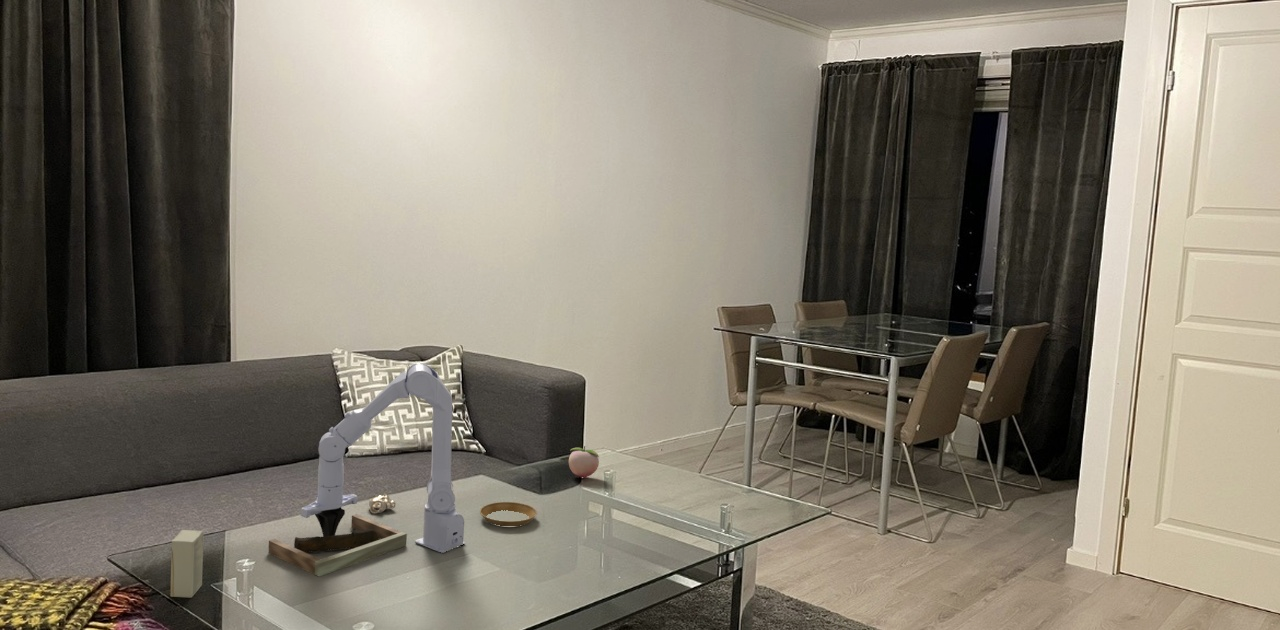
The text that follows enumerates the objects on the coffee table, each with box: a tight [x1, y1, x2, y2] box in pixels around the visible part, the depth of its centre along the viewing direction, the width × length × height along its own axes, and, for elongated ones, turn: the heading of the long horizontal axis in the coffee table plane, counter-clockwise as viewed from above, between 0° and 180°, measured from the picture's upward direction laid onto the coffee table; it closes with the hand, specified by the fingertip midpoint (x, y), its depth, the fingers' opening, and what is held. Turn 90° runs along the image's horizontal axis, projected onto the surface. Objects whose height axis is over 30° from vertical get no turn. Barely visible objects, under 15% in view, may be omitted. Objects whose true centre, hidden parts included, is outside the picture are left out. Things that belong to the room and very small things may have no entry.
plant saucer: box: [479, 501, 538, 527], centre depth 258 cm, size 15×15×3 cm
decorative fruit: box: [568, 445, 600, 478], centre depth 296 cm, size 9×8×10 cm
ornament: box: [368, 493, 397, 515], centre depth 258 cm, size 8×7×4 cm
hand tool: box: [293, 529, 380, 554], centre depth 229 cm, size 19×4×5 cm, turn 112°
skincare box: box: [170, 529, 204, 599], centre depth 202 cm, size 6×4×12 cm
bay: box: [268, 513, 408, 577], centre depth 230 cm, size 18×25×3 cm
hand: (328, 539), depth 232 cm, fingers closed
